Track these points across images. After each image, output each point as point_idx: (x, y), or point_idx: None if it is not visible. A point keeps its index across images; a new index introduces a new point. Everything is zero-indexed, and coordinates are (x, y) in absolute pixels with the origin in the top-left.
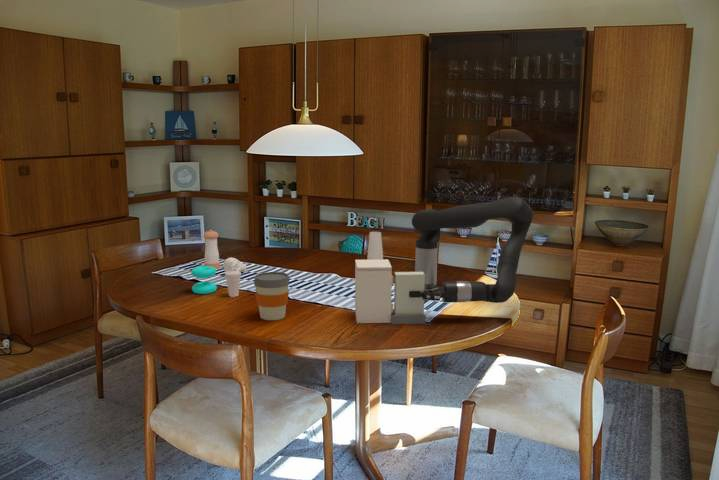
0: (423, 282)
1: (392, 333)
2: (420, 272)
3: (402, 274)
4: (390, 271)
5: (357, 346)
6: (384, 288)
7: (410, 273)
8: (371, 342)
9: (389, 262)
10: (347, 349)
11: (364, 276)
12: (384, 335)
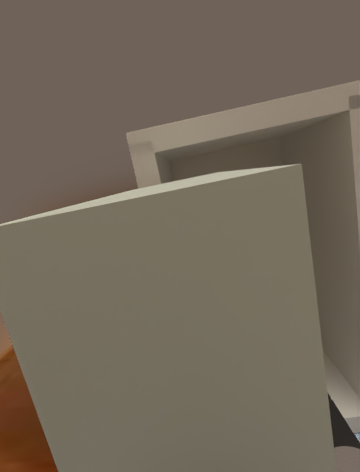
0: (55, 405)
1: (46, 464)
2: (199, 182)
3: (133, 190)
4: (133, 164)
5: (6, 370)
6: None
7: (152, 187)
8: (7, 397)
9: (267, 101)
10: (5, 355)
11: None
12: (42, 431)
